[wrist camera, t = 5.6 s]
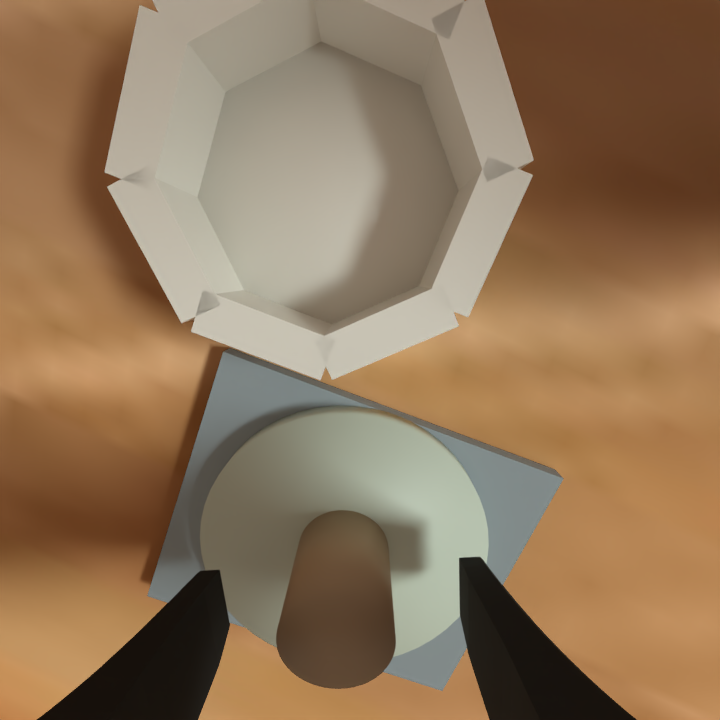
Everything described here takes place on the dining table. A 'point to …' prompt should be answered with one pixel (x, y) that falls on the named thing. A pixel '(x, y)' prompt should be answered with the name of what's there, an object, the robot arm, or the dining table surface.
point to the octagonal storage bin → (318, 170)
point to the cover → (342, 539)
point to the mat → (298, 393)
